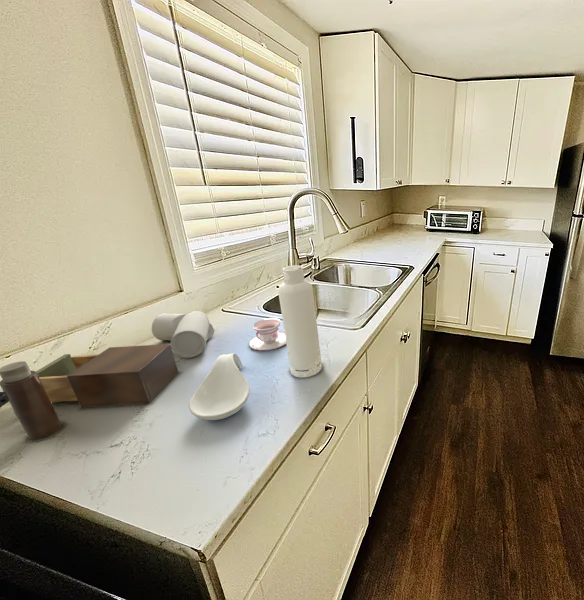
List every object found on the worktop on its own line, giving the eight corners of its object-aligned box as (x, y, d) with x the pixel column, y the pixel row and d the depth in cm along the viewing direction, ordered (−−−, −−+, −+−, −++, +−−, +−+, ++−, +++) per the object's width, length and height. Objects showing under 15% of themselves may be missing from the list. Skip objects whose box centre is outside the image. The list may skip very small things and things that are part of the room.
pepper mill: (21, 440, 65) (-16, 374, 59) (43, 423, 69) (11, 360, 63) (47, 438, 65) (13, 372, 59) (68, 421, 69) (38, 358, 64)
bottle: (285, 369, 87) (268, 268, 77) (311, 357, 93) (299, 261, 82) (300, 381, 82) (284, 274, 72) (327, 368, 87) (316, 267, 77)
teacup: (266, 331, 109) (262, 314, 106) (297, 335, 106) (295, 318, 103) (240, 348, 98) (236, 330, 96) (275, 353, 95) (271, 334, 93)
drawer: (12, 408, 72) (-2, 382, 70) (57, 378, 83) (46, 355, 81) (97, 402, 74) (86, 376, 72) (131, 373, 85) (122, 350, 82)
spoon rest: (251, 420, 69) (244, 392, 66) (187, 436, 65) (178, 406, 62) (255, 364, 90) (251, 341, 87) (207, 373, 86) (201, 349, 83)
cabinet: (81, 408, 73) (66, 376, 70) (120, 376, 85) (109, 347, 82) (149, 403, 75) (138, 371, 72) (178, 372, 86) (170, 343, 83)
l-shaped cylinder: (235, 328, 108) (179, 326, 110) (224, 302, 102) (166, 300, 104) (203, 366, 94) (140, 363, 96) (189, 338, 88) (122, 336, 90)
